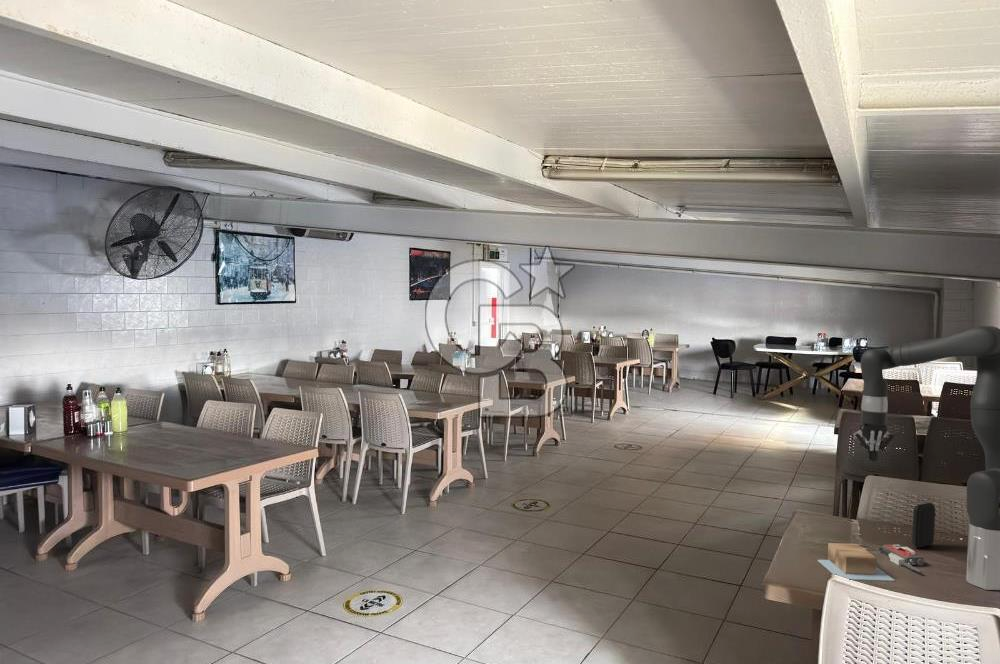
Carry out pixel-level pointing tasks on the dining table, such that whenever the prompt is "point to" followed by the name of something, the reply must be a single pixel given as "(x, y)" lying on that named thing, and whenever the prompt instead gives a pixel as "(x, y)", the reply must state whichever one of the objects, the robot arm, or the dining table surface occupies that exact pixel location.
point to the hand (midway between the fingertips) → (871, 461)
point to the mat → (872, 577)
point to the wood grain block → (852, 558)
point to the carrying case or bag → (923, 525)
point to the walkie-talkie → (902, 556)
